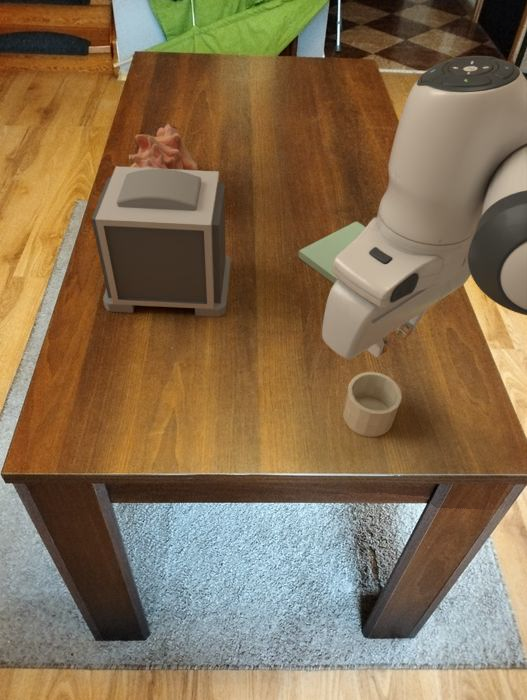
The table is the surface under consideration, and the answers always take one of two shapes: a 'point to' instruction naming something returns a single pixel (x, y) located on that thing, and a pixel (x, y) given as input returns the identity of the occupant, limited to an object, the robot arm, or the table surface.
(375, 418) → the beige cup
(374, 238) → the robot arm
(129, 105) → the table surface
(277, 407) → the table surface
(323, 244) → the scale
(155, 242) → the alarm clock
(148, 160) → the seashell
